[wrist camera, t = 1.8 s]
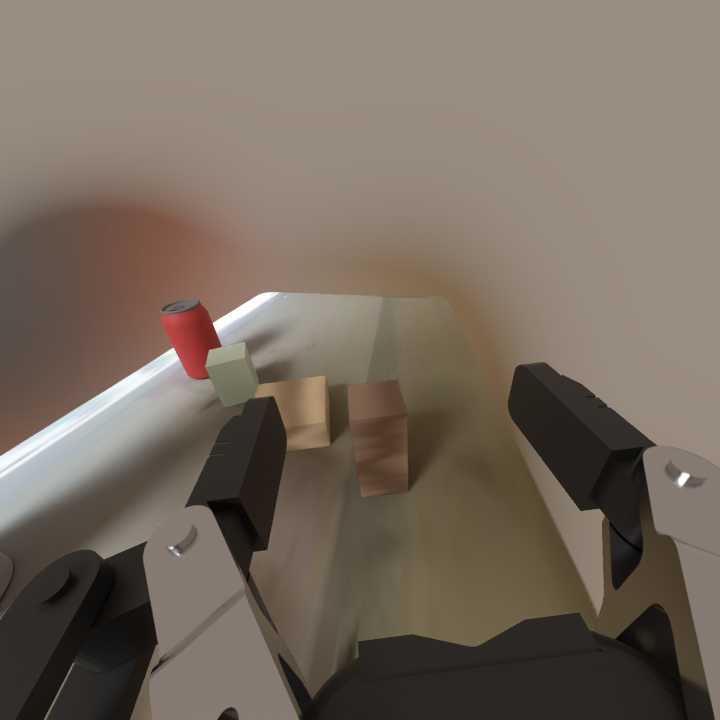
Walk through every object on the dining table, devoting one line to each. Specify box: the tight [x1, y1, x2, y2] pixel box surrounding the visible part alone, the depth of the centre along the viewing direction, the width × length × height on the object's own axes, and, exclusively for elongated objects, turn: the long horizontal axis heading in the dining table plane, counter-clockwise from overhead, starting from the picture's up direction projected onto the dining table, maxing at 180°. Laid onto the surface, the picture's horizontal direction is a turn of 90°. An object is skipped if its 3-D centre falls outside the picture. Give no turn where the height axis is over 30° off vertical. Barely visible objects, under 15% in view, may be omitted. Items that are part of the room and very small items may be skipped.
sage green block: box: [205, 342, 259, 408], centre depth 42 cm, size 5×5×7 cm
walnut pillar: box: [347, 380, 408, 498], centre depth 27 cm, size 4×4×10 cm
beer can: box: [160, 299, 222, 379], centre depth 47 cm, size 7×7×12 cm
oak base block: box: [254, 375, 330, 452], centre depth 36 cm, size 9×9×4 cm
